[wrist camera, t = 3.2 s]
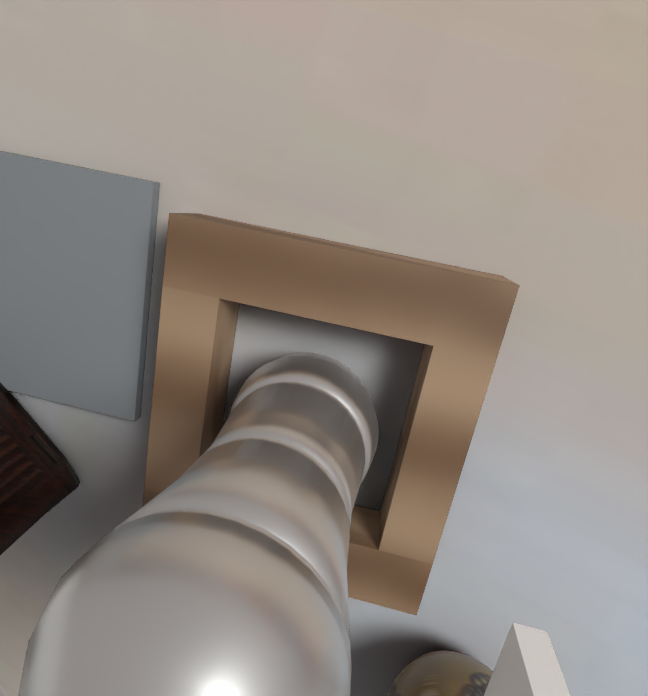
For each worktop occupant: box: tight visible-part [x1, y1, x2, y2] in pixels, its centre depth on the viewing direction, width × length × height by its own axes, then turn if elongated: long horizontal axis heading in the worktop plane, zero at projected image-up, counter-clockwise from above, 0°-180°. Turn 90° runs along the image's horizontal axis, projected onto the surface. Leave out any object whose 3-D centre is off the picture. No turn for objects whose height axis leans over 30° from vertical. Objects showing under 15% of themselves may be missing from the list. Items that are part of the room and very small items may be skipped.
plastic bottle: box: [18, 353, 379, 696], centre depth 14 cm, size 6×7×20 cm
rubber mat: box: [0, 151, 160, 421], centre depth 24 cm, size 12×12×1 cm
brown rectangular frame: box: [142, 213, 519, 615], centre depth 22 cm, size 16×14×3 cm
